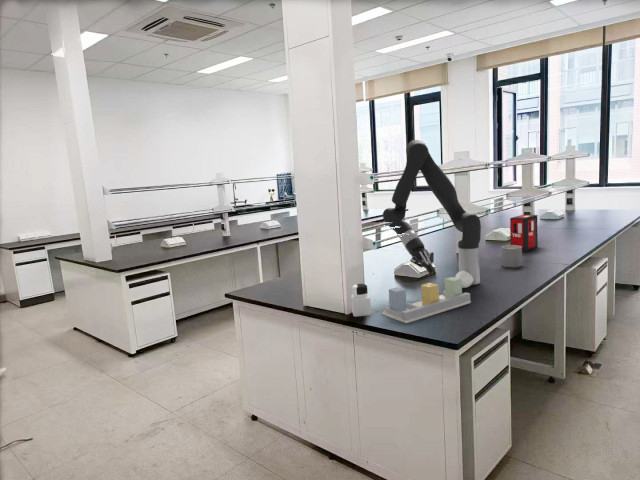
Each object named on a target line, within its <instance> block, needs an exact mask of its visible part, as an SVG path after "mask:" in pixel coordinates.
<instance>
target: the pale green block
mask: <svg viewBox="0 0 640 480" xmlns="http://www.w3.org/2000/svg"><path fill="white" fill-rule="evenodd" d="M444 291H445V299H446V298H449V297H453V296H456V295H460V294H463V288H462V279H461V278H456V277H455V276H450V277H445V278H444Z"/></svg>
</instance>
